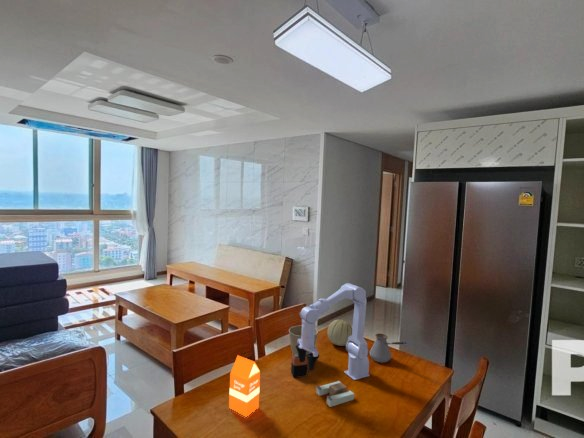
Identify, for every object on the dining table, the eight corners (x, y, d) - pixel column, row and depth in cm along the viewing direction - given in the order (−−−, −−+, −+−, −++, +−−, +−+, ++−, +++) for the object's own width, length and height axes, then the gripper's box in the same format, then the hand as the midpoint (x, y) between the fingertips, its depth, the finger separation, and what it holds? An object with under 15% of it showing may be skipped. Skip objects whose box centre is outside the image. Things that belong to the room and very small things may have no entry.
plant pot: (322, 361, 163) (323, 330, 163) (304, 371, 152) (305, 339, 152) (300, 351, 173) (301, 322, 173) (281, 360, 162) (282, 330, 161)
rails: (338, 386, 141) (339, 379, 141) (353, 399, 132) (354, 392, 132) (316, 392, 135) (316, 385, 135) (330, 406, 126) (330, 399, 126)
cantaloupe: (326, 348, 178) (327, 322, 177) (327, 338, 192) (328, 314, 192) (352, 351, 176) (354, 325, 175) (352, 341, 190) (353, 316, 189)
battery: (307, 376, 148) (308, 355, 148) (293, 378, 146) (294, 356, 146) (304, 371, 152) (305, 351, 152) (290, 373, 150) (291, 352, 150)
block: (340, 391, 137) (340, 382, 137) (346, 396, 134) (346, 387, 134) (329, 394, 134) (329, 385, 134) (334, 400, 131) (335, 390, 131)
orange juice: (246, 418, 117) (248, 365, 116) (228, 409, 122) (230, 358, 121) (259, 407, 124) (261, 357, 123) (241, 399, 128) (243, 351, 127)
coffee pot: (364, 357, 170) (366, 329, 169) (378, 352, 176) (380, 326, 176) (397, 376, 152) (399, 345, 152) (412, 369, 159) (414, 340, 158)
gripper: (292, 330, 142) (290, 360, 142) (308, 343, 129) (307, 375, 129) (305, 328, 145) (304, 357, 146) (323, 340, 132) (321, 372, 133)
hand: (306, 365), depth 138 cm, fingers open, 7 cm apart
